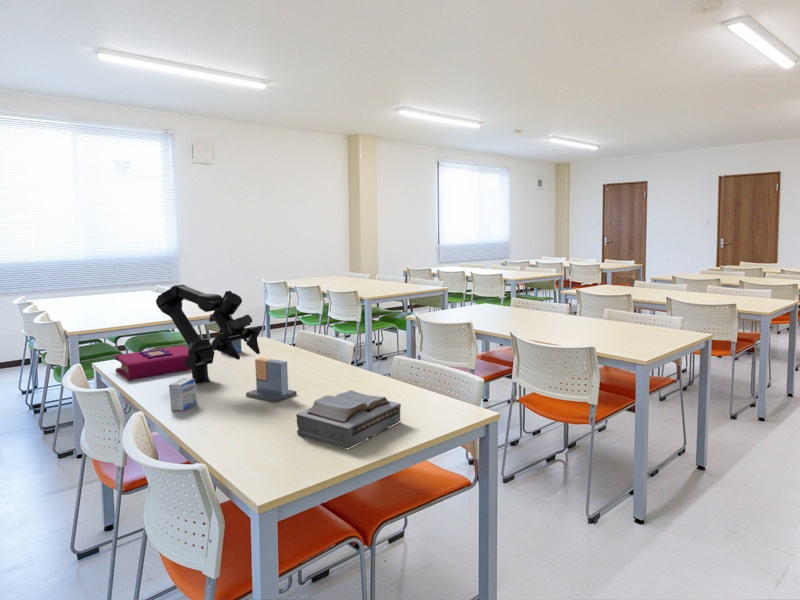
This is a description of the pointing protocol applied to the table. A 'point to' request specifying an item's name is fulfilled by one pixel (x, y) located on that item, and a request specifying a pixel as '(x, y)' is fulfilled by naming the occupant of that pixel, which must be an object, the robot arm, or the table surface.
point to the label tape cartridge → (236, 345)
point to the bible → (347, 418)
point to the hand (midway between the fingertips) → (249, 356)
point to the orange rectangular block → (261, 368)
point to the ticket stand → (273, 383)
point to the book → (153, 362)
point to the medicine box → (182, 394)
